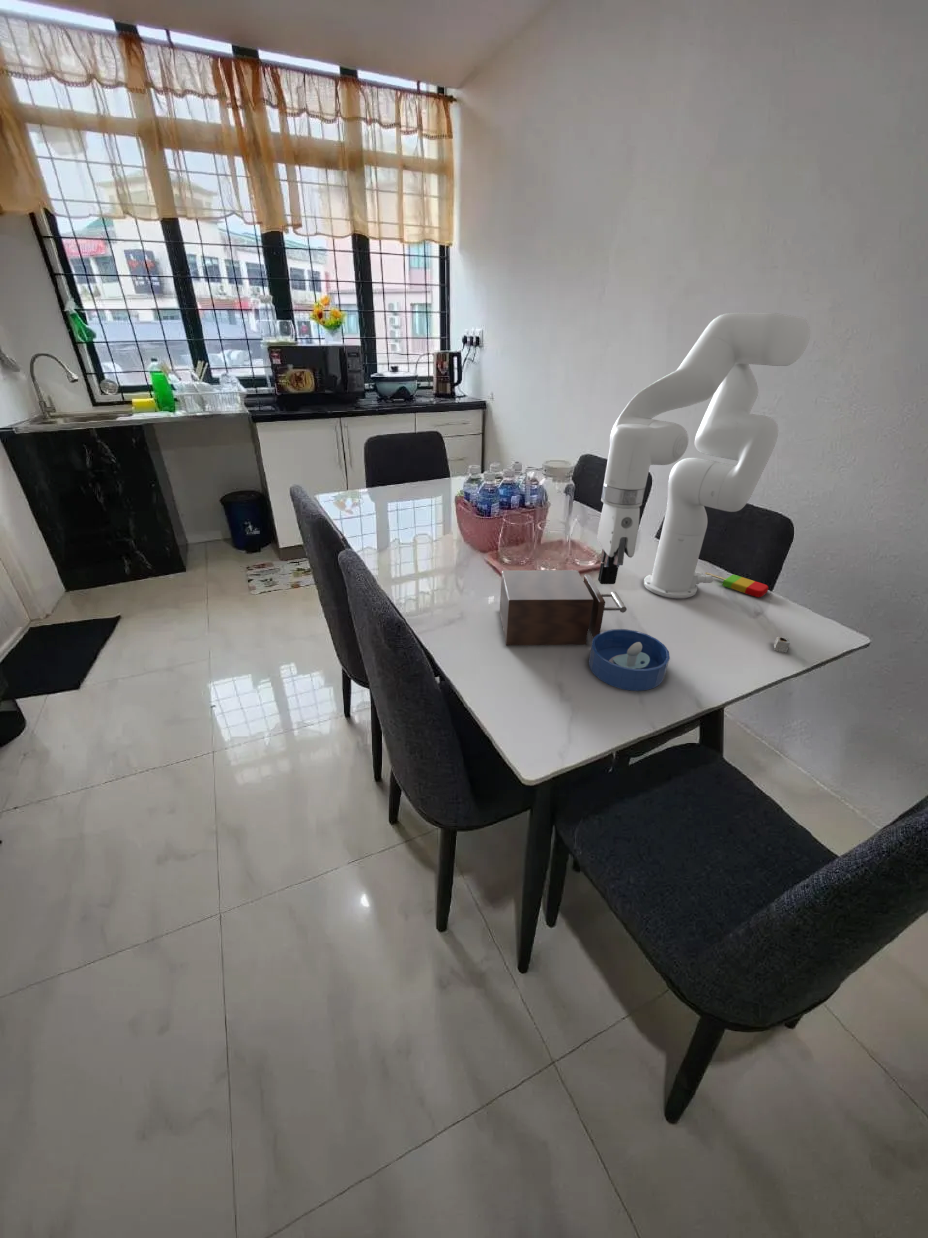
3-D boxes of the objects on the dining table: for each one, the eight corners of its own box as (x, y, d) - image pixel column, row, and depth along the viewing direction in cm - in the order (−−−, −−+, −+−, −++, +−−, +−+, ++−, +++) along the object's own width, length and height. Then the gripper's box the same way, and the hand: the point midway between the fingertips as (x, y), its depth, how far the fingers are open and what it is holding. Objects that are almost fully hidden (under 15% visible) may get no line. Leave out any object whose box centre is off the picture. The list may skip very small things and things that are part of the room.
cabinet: (571, 612, 115) (577, 570, 110) (586, 644, 103) (593, 599, 98) (499, 612, 114) (501, 570, 109) (505, 645, 103) (509, 599, 97)
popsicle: (759, 599, 122) (762, 592, 121) (699, 579, 131) (701, 572, 130) (768, 592, 125) (770, 585, 124) (708, 573, 134) (710, 566, 133)
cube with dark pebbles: (774, 650, 102) (778, 640, 101) (773, 645, 104) (777, 634, 103) (786, 652, 102) (790, 642, 100) (785, 647, 103) (789, 637, 102)
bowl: (648, 647, 103) (653, 628, 100) (676, 690, 91) (682, 670, 88) (581, 648, 102) (584, 629, 100) (599, 691, 90) (603, 671, 88)
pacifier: (601, 663, 97) (622, 679, 92) (605, 635, 94) (627, 651, 89) (629, 654, 100) (652, 669, 95) (634, 627, 97) (658, 641, 92)
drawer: (609, 609, 114) (615, 574, 110) (626, 639, 104) (634, 601, 99) (516, 610, 113) (519, 575, 109) (524, 640, 103) (527, 602, 98)
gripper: (656, 506, 88) (636, 599, 97) (629, 484, 101) (613, 567, 110) (614, 506, 88) (598, 599, 97) (592, 483, 101) (579, 567, 110)
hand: (606, 582), depth 103 cm, fingers closed
